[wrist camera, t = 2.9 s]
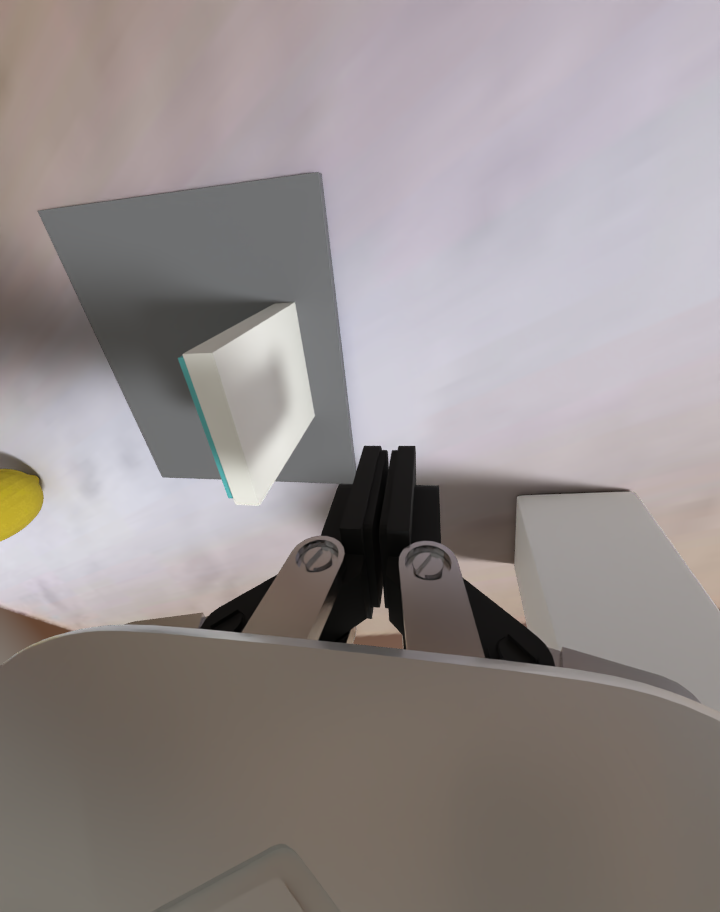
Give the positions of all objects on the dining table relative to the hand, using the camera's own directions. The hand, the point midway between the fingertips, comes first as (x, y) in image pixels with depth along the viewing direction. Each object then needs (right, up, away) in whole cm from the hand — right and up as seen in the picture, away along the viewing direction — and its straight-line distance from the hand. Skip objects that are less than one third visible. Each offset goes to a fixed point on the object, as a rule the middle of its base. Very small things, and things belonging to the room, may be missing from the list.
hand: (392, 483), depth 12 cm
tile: (-5, +6, +10) cm, 13 cm away
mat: (-10, +7, +12) cm, 17 cm away
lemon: (-31, -1, +21) cm, 37 cm away
